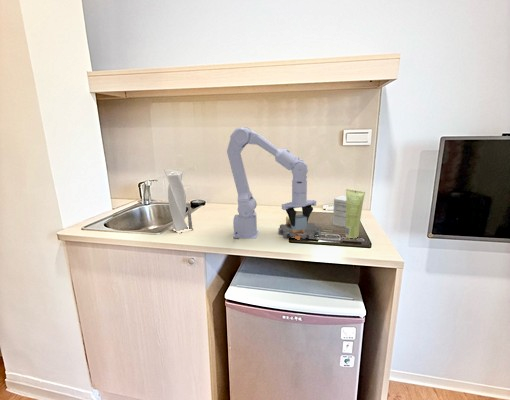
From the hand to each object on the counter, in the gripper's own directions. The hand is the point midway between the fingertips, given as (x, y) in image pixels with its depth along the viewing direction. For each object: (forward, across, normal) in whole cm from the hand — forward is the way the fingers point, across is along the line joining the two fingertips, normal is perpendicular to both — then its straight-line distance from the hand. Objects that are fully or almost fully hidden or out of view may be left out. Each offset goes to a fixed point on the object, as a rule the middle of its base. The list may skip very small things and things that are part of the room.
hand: (299, 224), depth 112 cm
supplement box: (+6, -25, -4) cm, 26 cm away
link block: (+2, 0, 0) cm, 2 cm away
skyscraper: (+6, +44, -30) cm, 53 cm away
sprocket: (+5, -2, -3) cm, 6 cm away
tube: (+6, -19, +10) cm, 22 cm away
